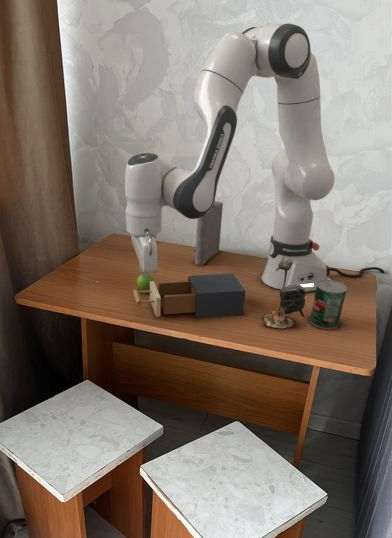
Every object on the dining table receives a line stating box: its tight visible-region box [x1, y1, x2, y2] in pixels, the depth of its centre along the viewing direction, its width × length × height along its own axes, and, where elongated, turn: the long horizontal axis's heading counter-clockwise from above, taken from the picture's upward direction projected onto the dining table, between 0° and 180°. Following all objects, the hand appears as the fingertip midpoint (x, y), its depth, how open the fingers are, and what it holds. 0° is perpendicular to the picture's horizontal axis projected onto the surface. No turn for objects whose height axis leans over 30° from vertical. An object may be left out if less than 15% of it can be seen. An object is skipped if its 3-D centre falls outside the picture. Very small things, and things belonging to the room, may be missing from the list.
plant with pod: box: [262, 256, 306, 330], centre depth 130 cm, size 8×11×20 cm
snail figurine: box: [136, 261, 156, 291], centre depth 144 cm, size 5×6×12 cm
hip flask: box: [194, 200, 224, 266], centre depth 167 cm, size 16×4×20 cm, turn 155°
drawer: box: [132, 280, 197, 318], centre depth 136 cm, size 17×10×6 cm, turn 104°
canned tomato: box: [309, 279, 348, 330], centre depth 134 cm, size 8×8×11 cm
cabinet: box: [187, 273, 246, 319], centre depth 139 cm, size 13×11×7 cm
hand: (144, 274), depth 131 cm, fingers closed
